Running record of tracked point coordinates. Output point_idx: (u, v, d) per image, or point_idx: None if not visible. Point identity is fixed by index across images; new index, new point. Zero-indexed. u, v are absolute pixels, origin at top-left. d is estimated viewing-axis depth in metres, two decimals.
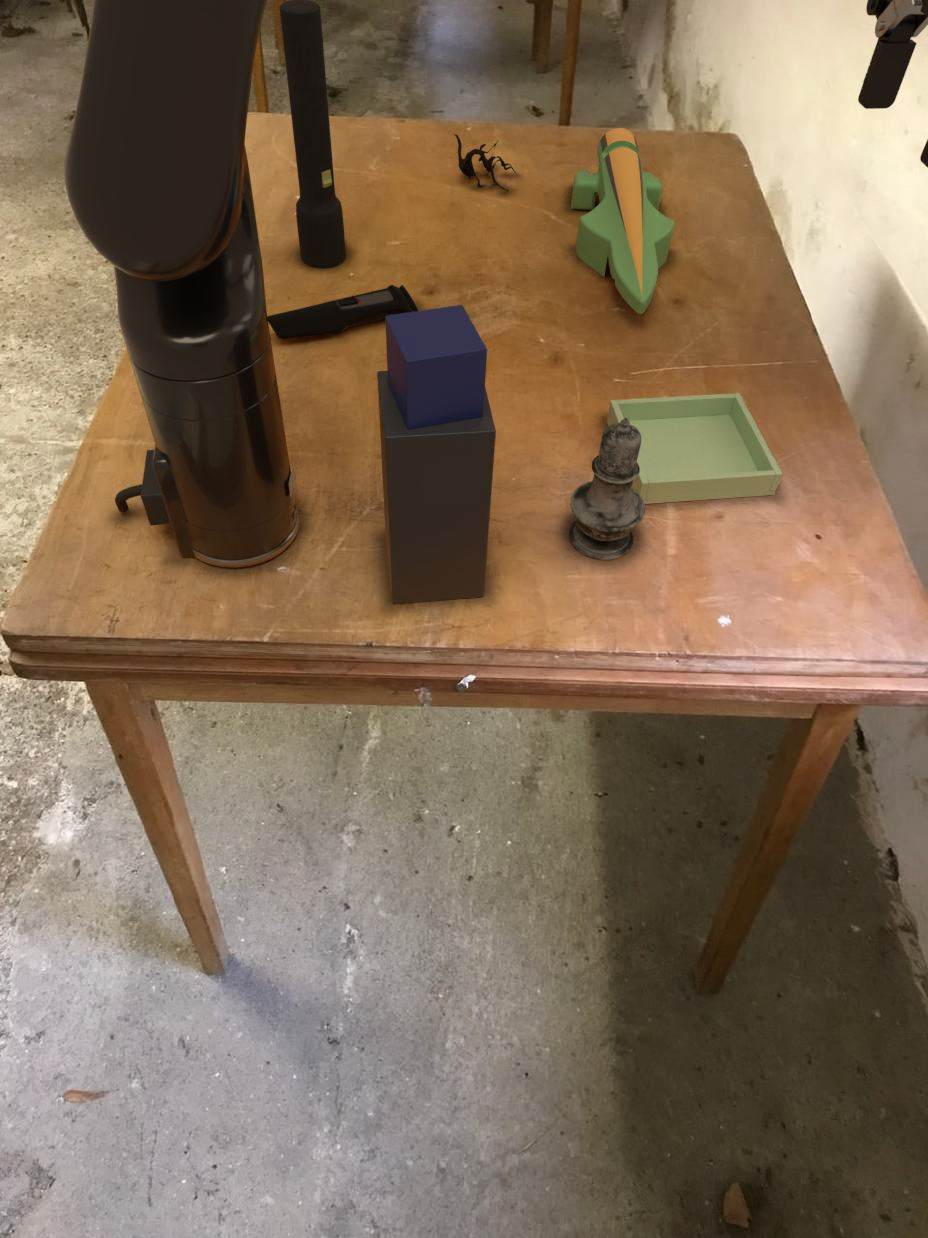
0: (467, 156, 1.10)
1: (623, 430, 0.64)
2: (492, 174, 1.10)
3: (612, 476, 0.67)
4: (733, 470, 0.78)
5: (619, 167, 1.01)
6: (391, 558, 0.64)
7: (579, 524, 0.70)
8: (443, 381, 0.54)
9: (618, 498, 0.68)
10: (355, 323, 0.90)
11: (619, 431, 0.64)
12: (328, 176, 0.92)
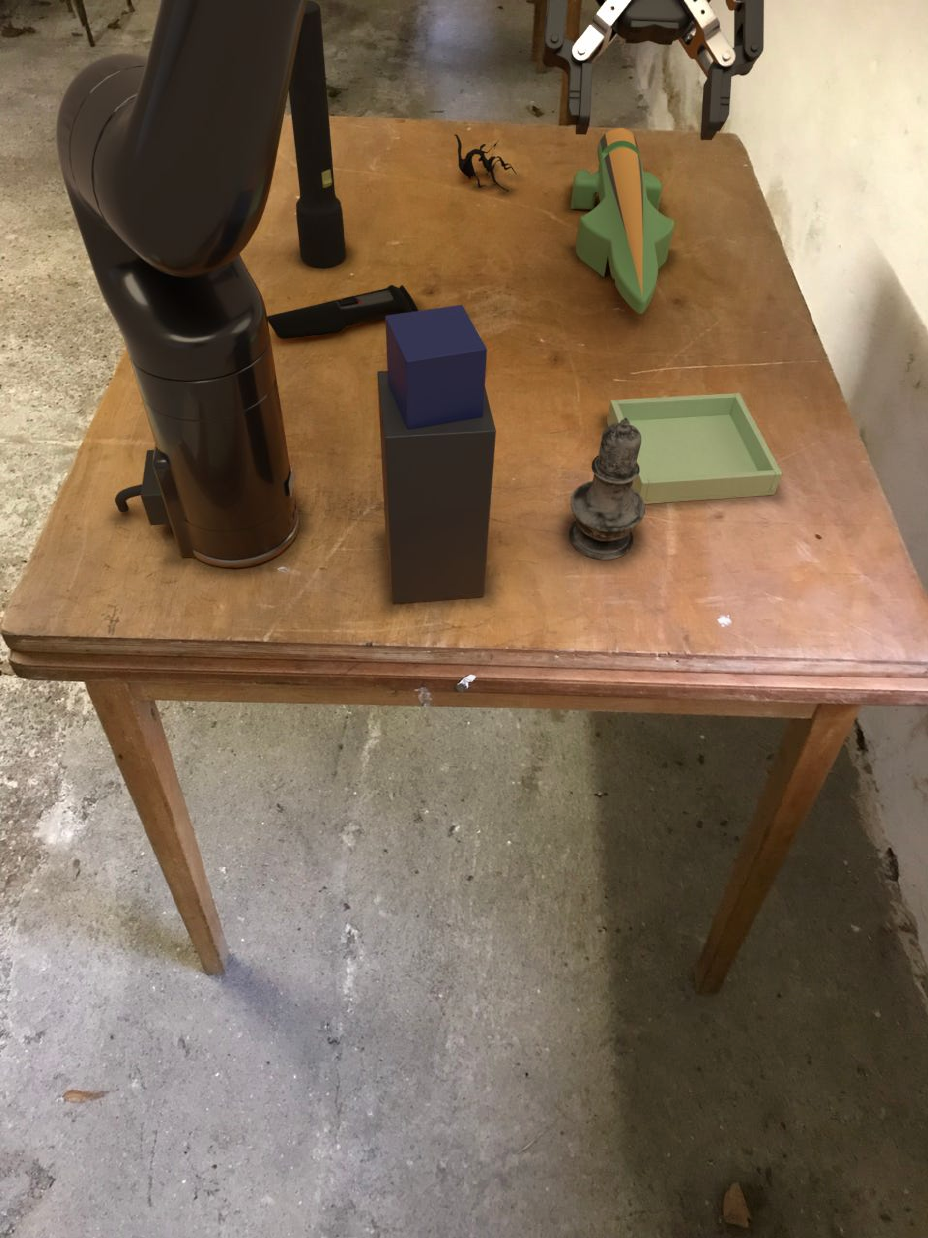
0: (467, 156, 1.10)
1: (623, 430, 0.64)
2: (492, 174, 1.10)
3: (612, 476, 0.67)
4: (733, 470, 0.78)
5: (619, 167, 1.01)
6: (391, 558, 0.64)
7: (579, 524, 0.70)
8: (443, 381, 0.54)
9: (618, 498, 0.68)
10: (355, 323, 0.90)
11: (619, 431, 0.64)
12: (328, 176, 0.92)
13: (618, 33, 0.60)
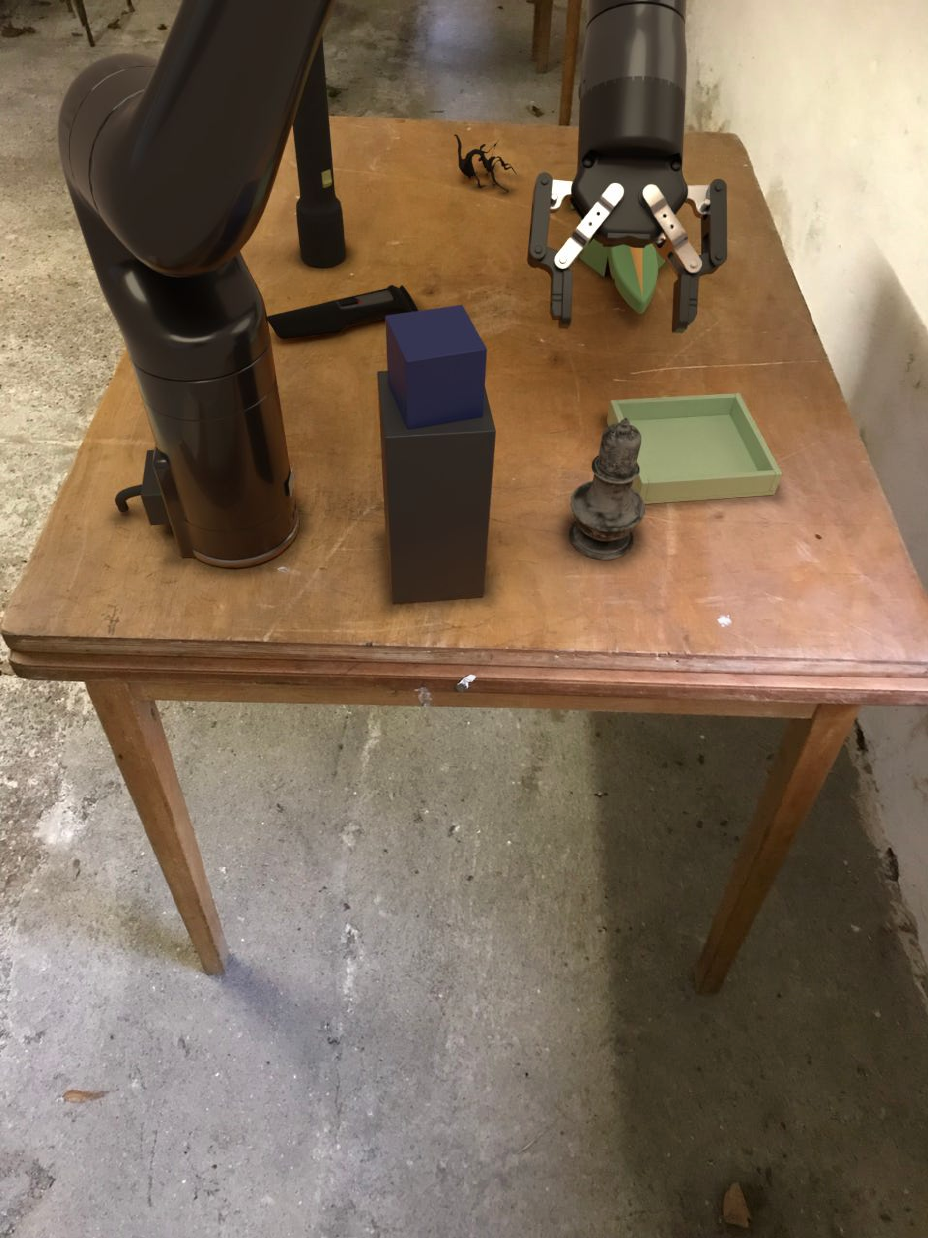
0: (467, 156, 1.10)
1: (623, 430, 0.64)
2: (492, 174, 1.10)
3: (612, 476, 0.67)
4: (733, 470, 0.78)
5: None
6: (391, 558, 0.64)
7: (579, 524, 0.70)
8: (443, 381, 0.54)
9: (618, 498, 0.68)
10: (355, 323, 0.90)
11: (619, 431, 0.64)
12: (328, 176, 0.92)
13: (596, 239, 0.66)
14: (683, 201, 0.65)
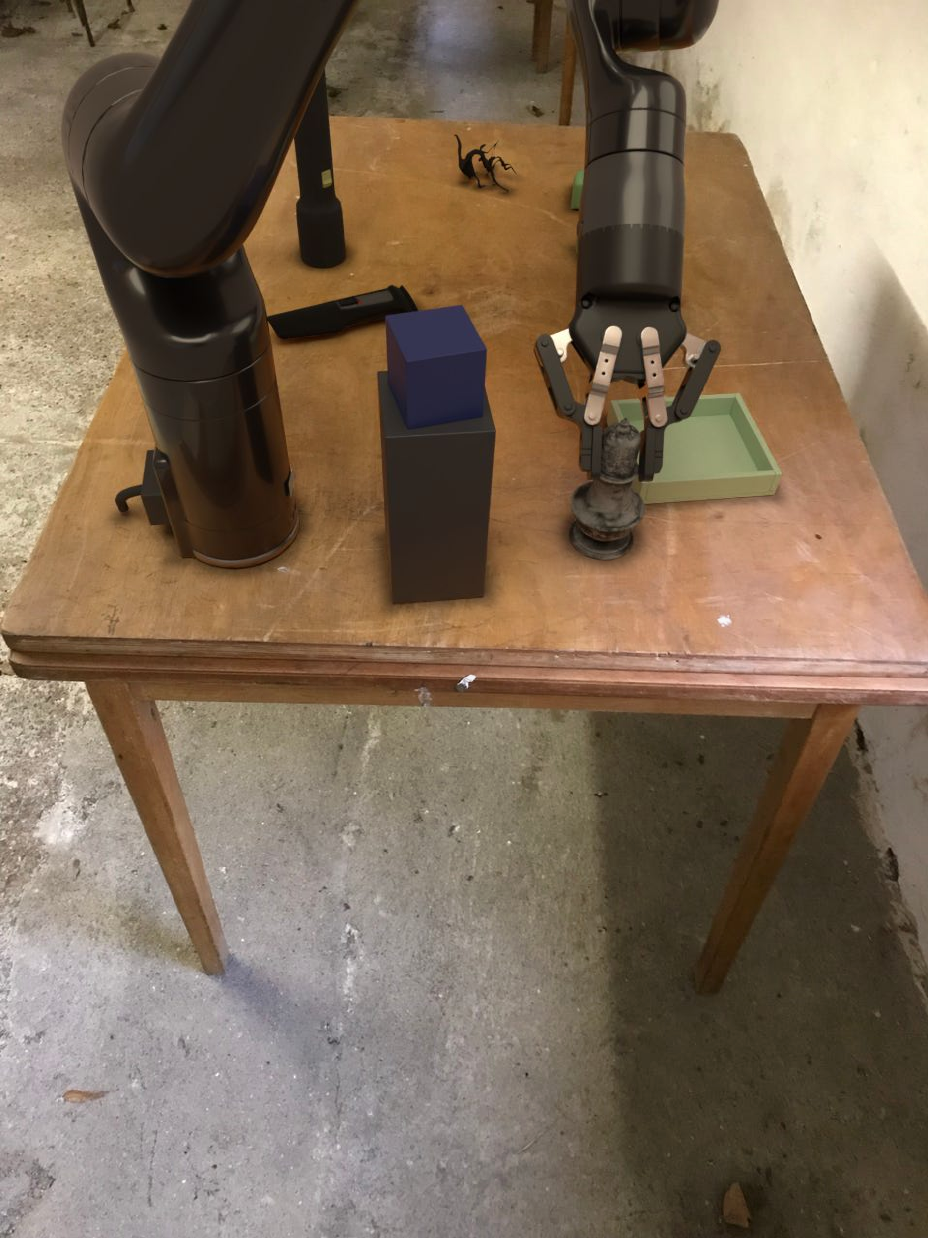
0: (467, 156, 1.10)
1: (622, 430, 0.64)
2: (492, 174, 1.10)
3: (612, 476, 0.67)
4: (733, 470, 0.78)
5: None
6: (391, 558, 0.64)
7: (579, 524, 0.70)
8: (443, 381, 0.54)
9: (618, 498, 0.68)
10: (355, 323, 0.90)
11: (619, 431, 0.64)
12: (328, 176, 0.92)
13: None
14: (682, 341, 0.64)
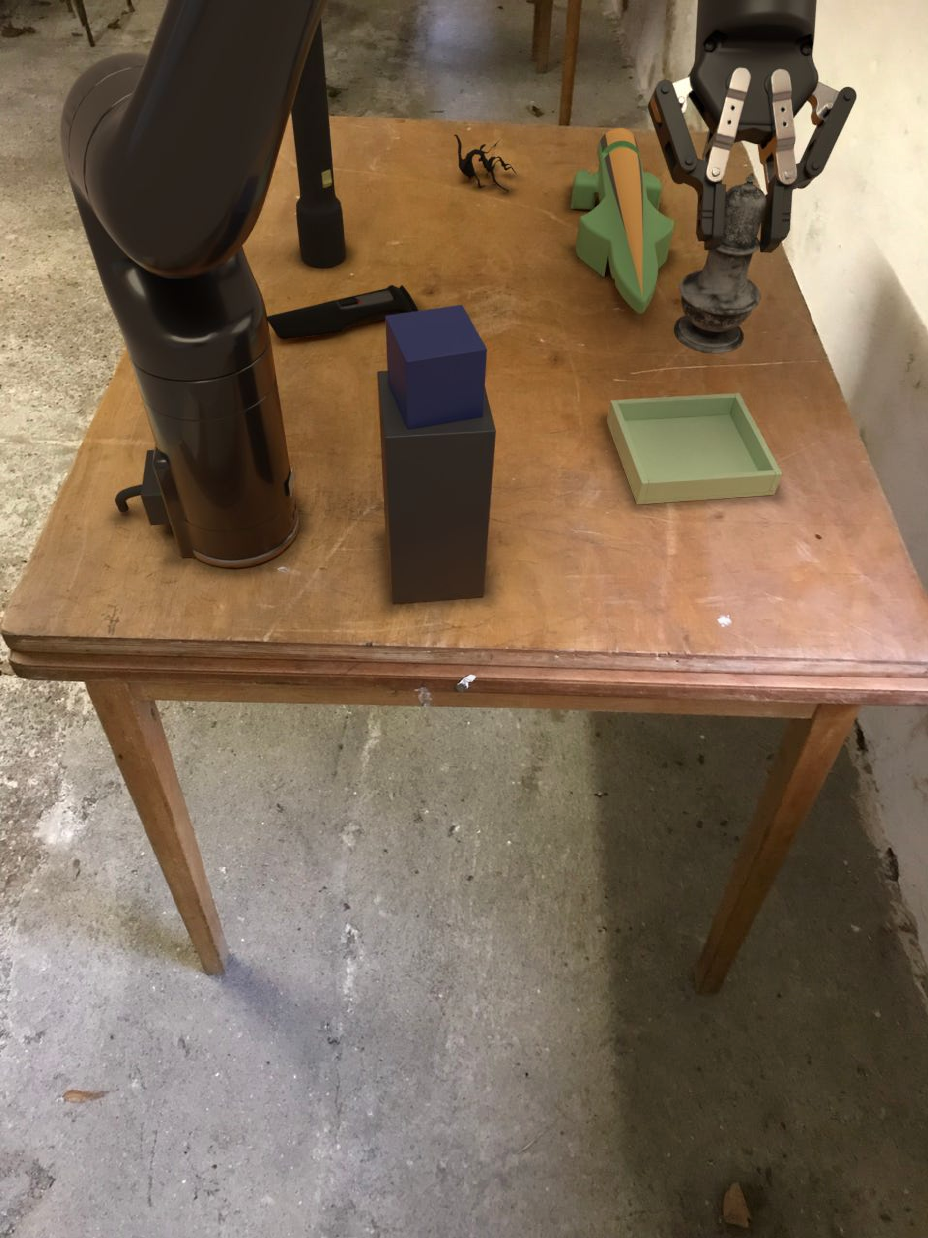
0: (467, 156, 1.09)
1: (748, 188, 0.59)
2: (492, 174, 1.10)
3: (732, 247, 0.61)
4: (733, 470, 0.78)
5: (619, 167, 1.01)
6: (391, 558, 0.64)
7: (689, 311, 0.65)
8: (443, 381, 0.54)
9: (735, 276, 0.63)
10: (355, 323, 0.90)
11: (744, 189, 0.59)
12: (328, 176, 0.92)
13: None
14: (813, 89, 0.59)
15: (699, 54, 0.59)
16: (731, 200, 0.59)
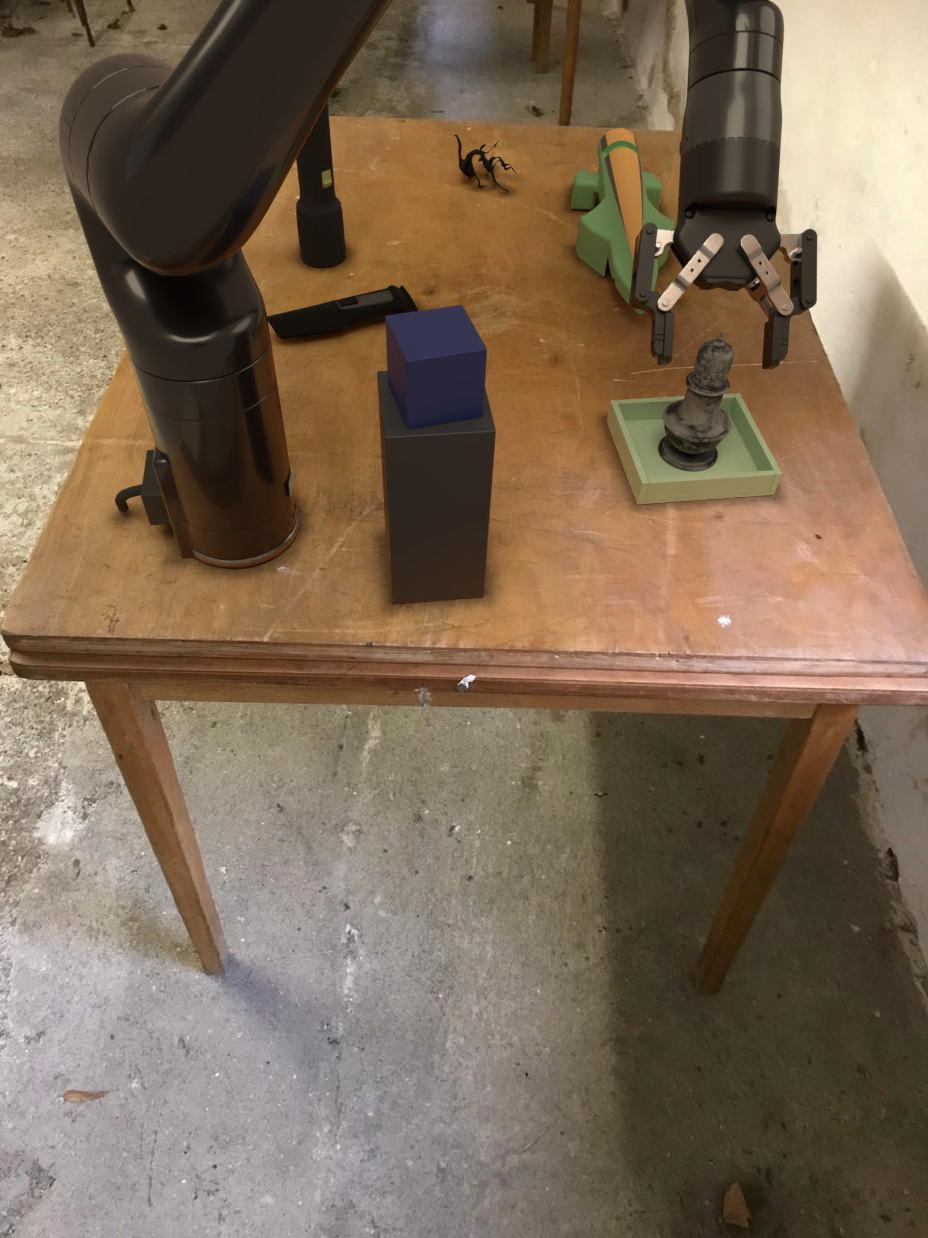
0: (467, 156, 1.09)
1: (718, 345, 0.71)
2: (492, 174, 1.10)
3: (706, 389, 0.73)
4: (733, 470, 0.78)
5: (619, 167, 1.01)
6: (391, 558, 0.64)
7: (671, 437, 0.77)
8: (443, 381, 0.54)
9: (709, 411, 0.75)
10: (355, 323, 0.90)
11: (715, 345, 0.71)
12: (328, 176, 0.92)
13: (694, 283, 0.71)
14: (776, 249, 0.70)
15: (680, 219, 0.70)
16: (704, 354, 0.71)
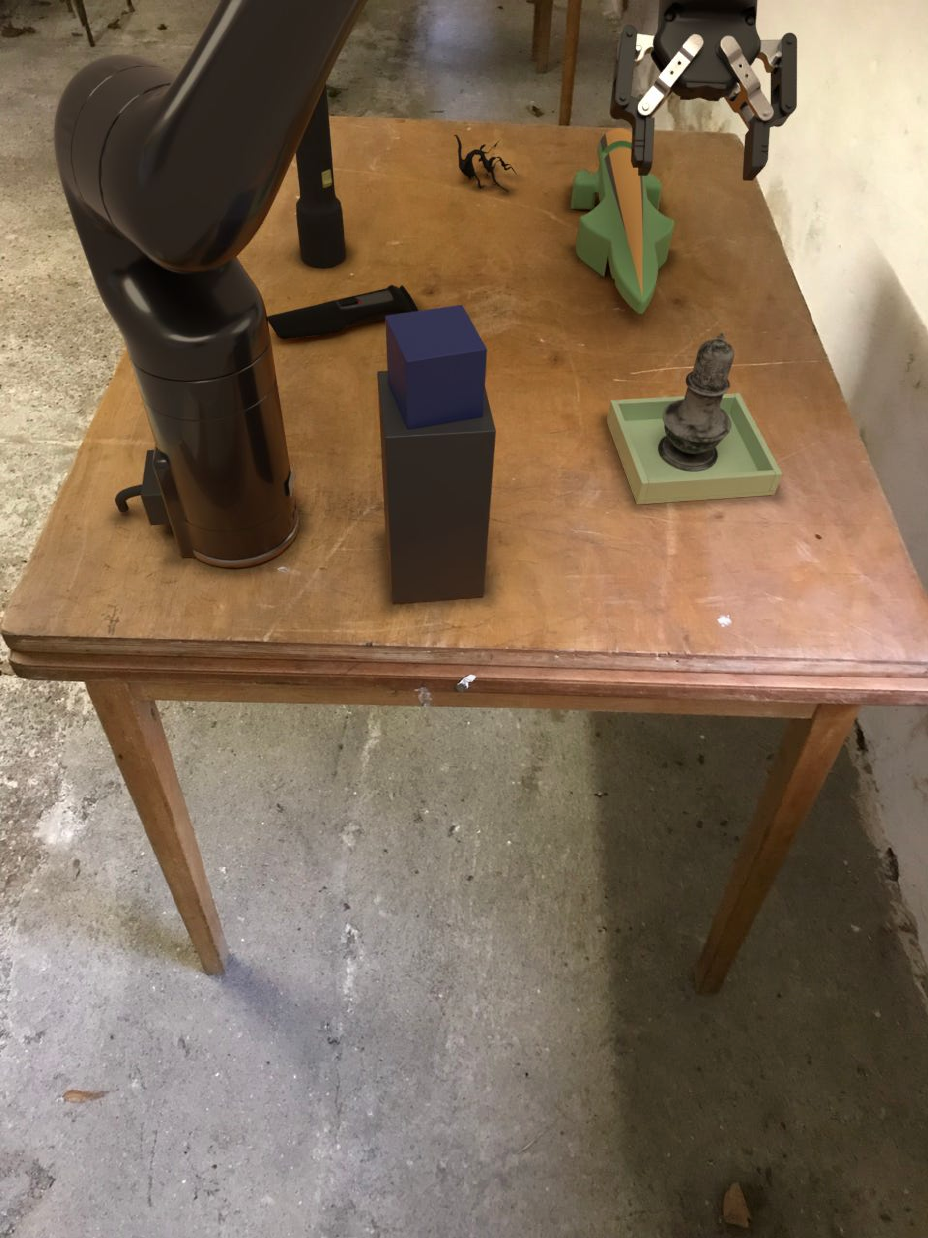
0: (467, 157, 1.09)
1: (718, 345, 0.71)
2: (492, 174, 1.10)
3: (706, 389, 0.73)
4: (733, 470, 0.78)
5: (619, 167, 1.01)
6: (391, 558, 0.64)
7: (671, 437, 0.77)
8: (443, 381, 0.54)
9: (709, 411, 0.75)
10: (355, 323, 0.90)
11: (715, 345, 0.71)
12: (328, 176, 0.92)
13: (674, 91, 0.71)
14: (756, 54, 0.70)
15: (661, 23, 0.70)
16: (704, 354, 0.71)
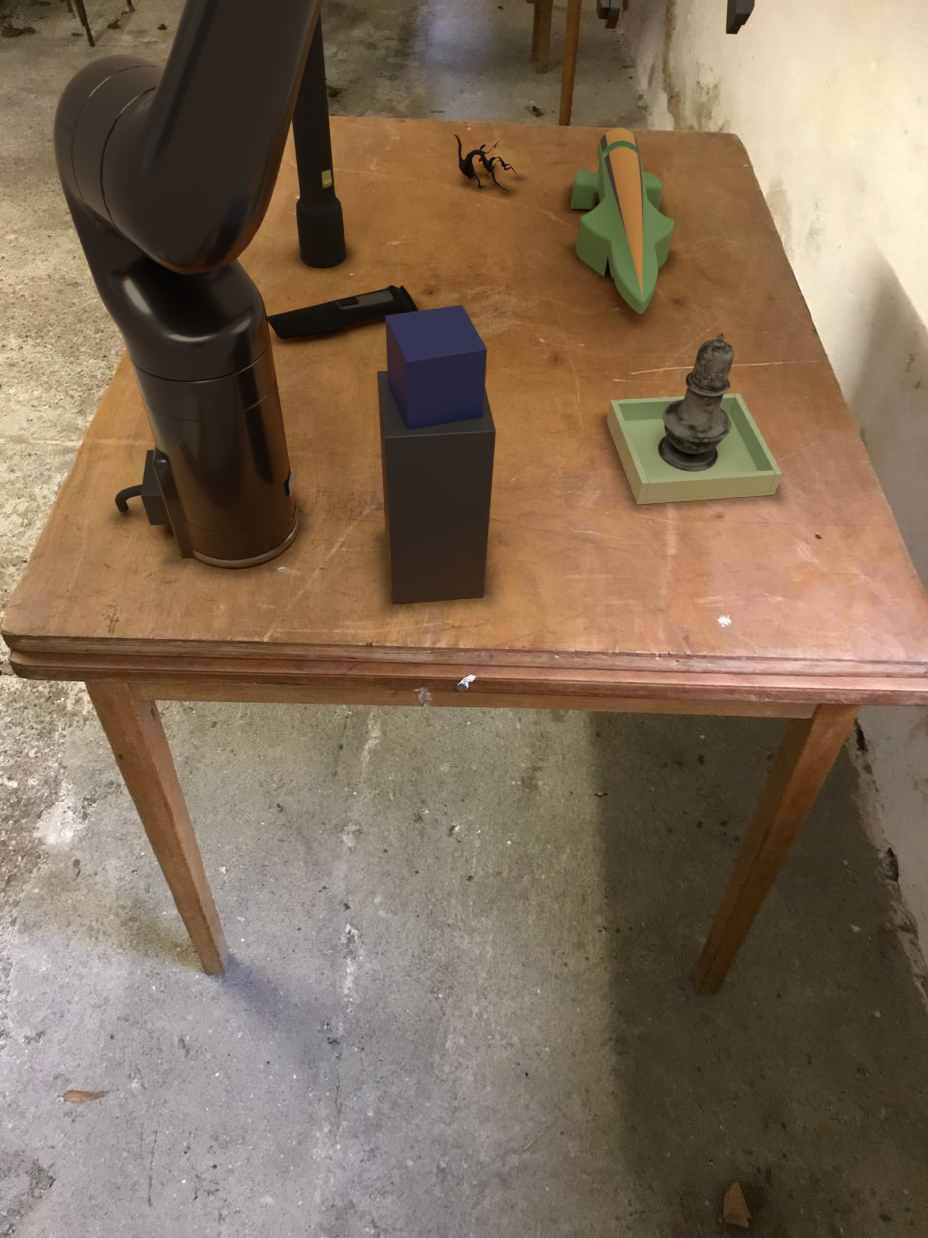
0: (467, 157, 1.09)
1: (718, 345, 0.71)
2: (493, 174, 1.10)
3: (706, 389, 0.73)
4: (733, 470, 0.78)
5: (619, 167, 1.01)
6: (391, 558, 0.64)
7: (671, 437, 0.77)
8: (443, 381, 0.54)
9: (709, 411, 0.75)
10: (355, 323, 0.90)
11: (715, 345, 0.71)
12: (328, 176, 0.92)
13: None
14: None
15: None
16: (704, 354, 0.71)
